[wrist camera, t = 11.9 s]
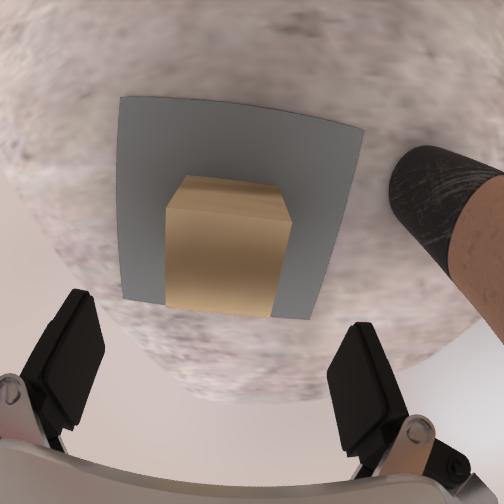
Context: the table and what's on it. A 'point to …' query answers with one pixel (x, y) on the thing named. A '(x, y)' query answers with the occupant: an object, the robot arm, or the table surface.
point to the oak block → (225, 246)
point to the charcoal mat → (233, 168)
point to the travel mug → (456, 222)
